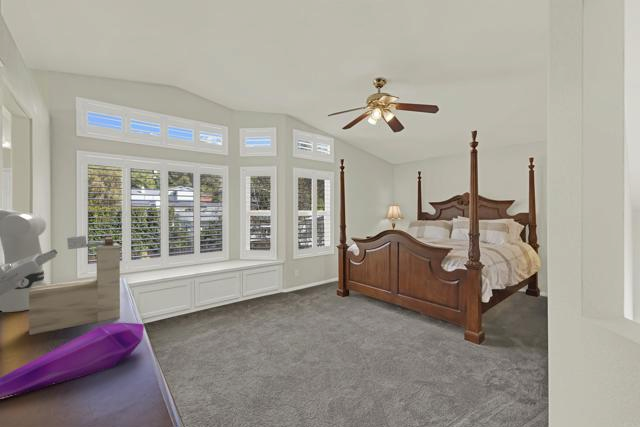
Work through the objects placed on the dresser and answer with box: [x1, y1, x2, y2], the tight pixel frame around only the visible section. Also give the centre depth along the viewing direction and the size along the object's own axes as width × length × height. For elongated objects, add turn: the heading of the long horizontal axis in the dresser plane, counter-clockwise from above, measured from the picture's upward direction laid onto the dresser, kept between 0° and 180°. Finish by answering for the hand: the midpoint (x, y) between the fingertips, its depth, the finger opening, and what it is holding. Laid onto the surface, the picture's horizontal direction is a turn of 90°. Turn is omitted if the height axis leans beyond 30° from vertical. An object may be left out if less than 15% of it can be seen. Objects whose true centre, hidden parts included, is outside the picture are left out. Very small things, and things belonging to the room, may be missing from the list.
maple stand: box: [28, 236, 121, 335], centre depth 103 cm, size 8×24×30 cm, turn 130°
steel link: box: [66, 235, 115, 250], centre depth 105 cm, size 13×4×4 cm, turn 130°
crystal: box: [0, 321, 145, 398], centre depth 73 cm, size 9×15×30 cm
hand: (55, 252), depth 99 cm, fingers open, 8 cm apart
